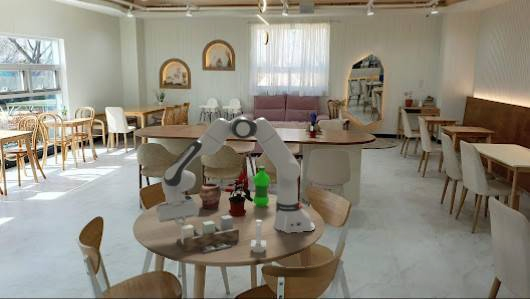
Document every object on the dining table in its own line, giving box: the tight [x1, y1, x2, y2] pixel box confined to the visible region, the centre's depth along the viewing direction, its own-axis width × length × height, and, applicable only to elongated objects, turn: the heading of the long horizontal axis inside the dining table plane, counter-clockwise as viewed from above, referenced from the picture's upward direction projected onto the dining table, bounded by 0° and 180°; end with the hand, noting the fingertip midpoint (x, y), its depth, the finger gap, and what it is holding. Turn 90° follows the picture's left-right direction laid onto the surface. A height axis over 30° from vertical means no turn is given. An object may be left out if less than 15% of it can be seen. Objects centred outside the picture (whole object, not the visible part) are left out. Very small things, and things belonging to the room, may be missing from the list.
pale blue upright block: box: [220, 214, 234, 231], centre depth 204 cm, size 5×4×8 cm
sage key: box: [201, 220, 216, 235], centre depth 196 cm, size 5×4×8 cm
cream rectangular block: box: [180, 224, 195, 244], centre depth 190 cm, size 5×4×8 cm
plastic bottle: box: [252, 165, 271, 208], centre depth 248 cm, size 10×10×25 cm
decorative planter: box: [198, 182, 222, 210], centre depth 247 cm, size 20×12×14 cm, turn 162°
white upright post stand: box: [250, 219, 267, 254], centre depth 186 cm, size 7×9×15 cm
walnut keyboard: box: [176, 225, 240, 254], centre depth 194 cm, size 28×18×6 cm, turn 120°
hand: (182, 226), depth 195 cm, fingers closed
